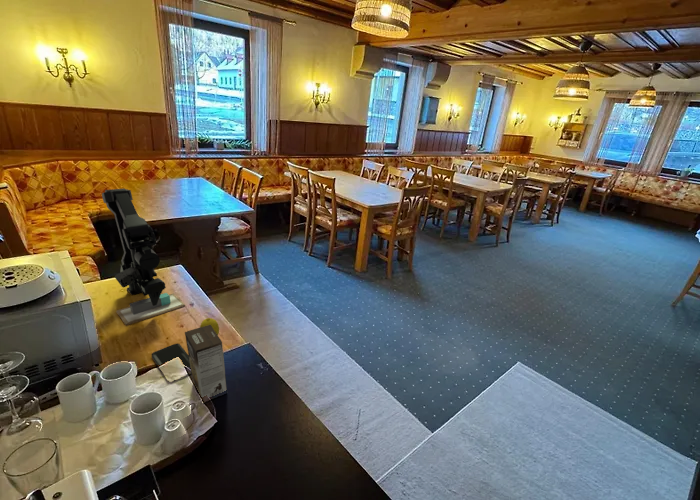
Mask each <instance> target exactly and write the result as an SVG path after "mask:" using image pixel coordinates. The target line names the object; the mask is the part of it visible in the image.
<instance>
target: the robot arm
mask: <svg viewBox="0 0 700 500" xmlns="http://www.w3.org/2000/svg"><path fill="white" fill-rule="evenodd" d="M101 197H102V201H103V203H104V204H105V205H106V208H107V209H108V210H109V211H111V213H112V214H113V215H114V219H115V222H116V226H117V229H118V233H119V237H120V241H121V246H122V249H123V255H122V257H121V264H120V272H119V273H117V274H115V276H114V279H115V280H116V281H117V282H118V283H119V285H120V286H121V288H126V290H127V291H128V293H129V294H130V295H131V296H134V295H137V294H141V293H142V295H143V296H144V297H146V296H148V298H150V300H151V302H152V305H153V306H155V305H157V303H158V300H159V297H160V295H161V294H163V293H162V292H163V291H164V290H165V289H166V287H167V286H166V283H165V282H164V281H163V280H162V279H161V278H159V277H157V276H158V273H157V272H156V271H155V269H156V268H158V266H159V264H160V261H161V260H160V259H161V258H160V257H159V255H158V254H157V253H156V252H155V251H154V250H153V249H152V246H156V245H157V242H156V241H157V238H156V234H155V233H154V230H153V227H151V225H150V224H148V223H147V221H146V219H145V218H143V217H142V216H139V214H138V212H137V210H136V208H135V206H134V204H133V200H134V199H133V194H132V191H131V189H126V188H115V189H105V190H104V192H102V193H101ZM155 277H157V278H155Z"/></svg>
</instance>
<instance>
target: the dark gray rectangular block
mask: <svg viewBox="0 0 700 500" xmlns="http://www.w3.org/2000/svg"><path fill="white" fill-rule="evenodd" d="M169 295H170V294H169V293H168V292H164V293H161V295H160V297H159V300H158V303H157V305H155V306H153V305H152V302H151V300H150V298H149V297H147V298H144V299H141V300H137V301H135V302H131V303H129V307H130V309H131V312H132V313H133V314H134V315H135V314H138V313H141V312H144V311H147V310H150V309H153V308H157V307H160V306H163V305H166V304H169V303H171V301H170V296H169Z"/></svg>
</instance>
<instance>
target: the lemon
mask: <svg viewBox="0 0 700 500" xmlns="http://www.w3.org/2000/svg"><path fill="white" fill-rule="evenodd" d="M217 321H218V320H216V319H214V318H211V317H208V318H205V319H203V320H202V321H201V322H200V325H199V328H200V327H205V326H208V325H211V326H212V328H213V329H214V331H215V332H216V334H217V335H218V336H219V333H220V325H219V322H217Z"/></svg>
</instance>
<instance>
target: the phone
mask: <svg viewBox="0 0 700 500" xmlns="http://www.w3.org/2000/svg"><path fill="white" fill-rule="evenodd" d="M150 355H151V358H152V360H153V361H154V362H155V365H156V366H157V365H161V364H163V363H165V362H167V361H170V360H172V359H173V358H176V357H179V358H180V359H181V360H182V362H183V364H184V365H185V366H187V367H190V361H189V355H188V352H187V351H186V350H185V349H184V348H183V346H182V345H181V344H180V343H174V344H171V345H169V346H166V347H163V348H160V349H158V350H155V351H153V352H152V353H151V354H150Z"/></svg>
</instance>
